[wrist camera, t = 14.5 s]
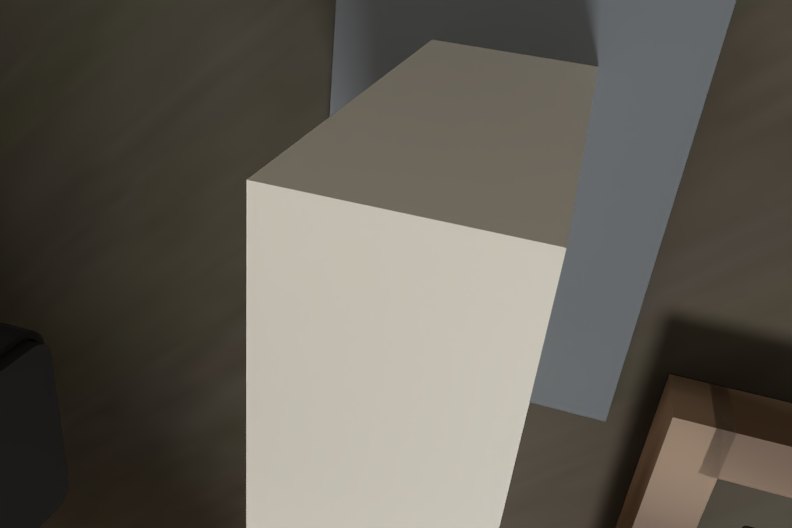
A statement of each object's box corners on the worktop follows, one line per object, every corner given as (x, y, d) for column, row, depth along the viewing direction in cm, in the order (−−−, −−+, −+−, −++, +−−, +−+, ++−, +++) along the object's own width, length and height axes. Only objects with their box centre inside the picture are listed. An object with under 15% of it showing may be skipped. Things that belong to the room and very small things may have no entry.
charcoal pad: (606, 404, 22) (605, 421, 21) (325, 334, 24) (316, 347, 23) (750, -68, 16) (756, -66, 15) (354, -116, 17) (343, -116, 17)
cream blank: (598, 66, 17) (566, 248, 8) (539, 318, 20) (473, 631, 12) (432, 39, 18) (246, 179, 9) (401, 286, 21) (246, 557, 12)
